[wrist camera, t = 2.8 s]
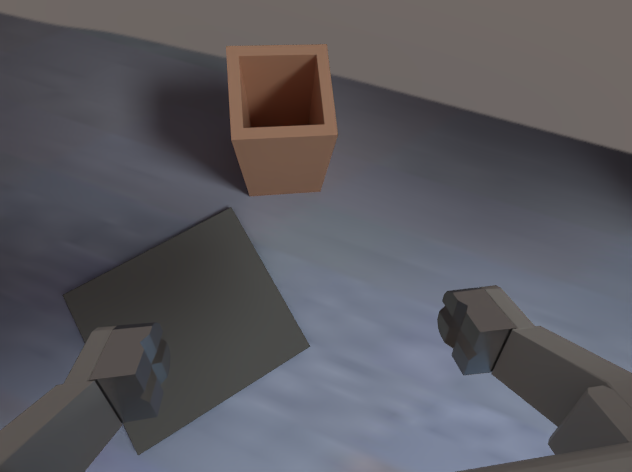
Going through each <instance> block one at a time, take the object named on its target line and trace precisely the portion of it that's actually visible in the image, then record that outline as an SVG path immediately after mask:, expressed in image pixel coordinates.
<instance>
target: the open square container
mask: <svg viewBox="0 0 632 472" xmlns="http://www.w3.org/2000/svg"><path fill="white" fill-rule="evenodd" d="M226 53H227V72H228V90H229V108H230V126H231V141H232V144H233V147H234V150H235V153H236V156H237V159H238V162H239V165H240V168H241V171H242V174H243V177H244V180H245V183H246V187H247V190H248V193H249V196H262V195H277V194H292V193H307V192H320V191H321V188H322V184H323V181H324V178H325V175H326V172H327V168H328V165H329V162H330V159H331V156H332V152H333V149H334V146H335V143H336V139H337V136H338V132H337V123H336V115H335V107H334V99H333V91H332V83H331V75H330V67H329V60H328V59H329V58H328V50H327V44H322V45H321V44H318V45H265V46H264V45H262V46H226Z"/></svg>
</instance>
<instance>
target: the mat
mask: <svg viewBox="0 0 632 472" xmlns="http://www.w3.org/2000/svg"><path fill="white" fill-rule="evenodd" d="M63 297H64V299H65V301H66V303H67V306H68V308H69V310H70V312H71V314H72V316H73V318H74V320H75V323H76V325H77V327H78V329H79V331H80V333H81V335H82V337H83V339H84V342H85V343H86V341H87V340H88V338H89V336H90V334H91V332H92V331H93V330H95V329H96V328H97V327H109V326H117V325H129V324H141V323H153V322H157V323H159V324H160V326H161V328H162V330H163V333H162V336H161V339H163V340H164V341H166V342H167V343H168V346H169V349H170V355H171V358H170V369H169V374H168V377H167V378H166V379H165V380H164V381H163V382H162V383H161V387H162V390H163V392H164V393H163V397H162V401H161V405H160V409H159V412H158V416H157V417H155V418H149V419H143V420H137V421H131V422H125V423H123V424H124V426H125V429H126V431H127V433H128V435H129V437H130V439H131V441H132V443H133V446H134V448H135V450H136V452H137V454H138V455H140V454H141V453H143V452H144V451H146V450H148V449H149V448H151V447H152V446H154V445H155V444H157V443H159V442H160V441H162V440H163V439H165V438H167V437H168V436H170V435H171V434H173V433H174V432H176V431H178V430H179V429H181V428H182V427H184V426H185V425H187V424H189V423H190V422H192V421H193V420H195V419H196V418H198V417H200V416H201V415H203V414H204V413H206V412H208V411H209V410H211V409H212V408H214V407H215V406H217V405H219V404H220V403H222V402H223V401H225V400H226V399H228V398H230V397H231V396H233V395H234V394H236V393H237V392H239V391H241V390H242V389H244V388H245V387H247V386H248V385H250V384H252V383H253V382H255V381H256V380H258V379H260V378H261V377H263V376H264V375H266V374H267V373H269V372H271V371H272V370H274V369H275V368H277V367H278V366H280V365H282V364H283V363H285V362H286V361H288V360H289V359H291V358H293V357H294V356H296V355H297V354H299V353H300V352H302V351H304V350H305V349H307V348H308V347H310V345H309V343H308V342H307V340H306V338H305V336H304V335H303V333H302V331H301V329H300V328H299V326H298V324H297V322H296V321H295V319H294V317H293V315H292V314H291V312H290V310H289V308H288V306H287V305H286V303H285V301H284V299H283V298H282V296H281V294H280V292H279V291H278V289H277V287H276V285H275V284H274V282H273V280H272V278H271V277H270V275H269V273H268V271H267V269H266V268H265V266H264V264H263V262H262V261H261V259H260V257H259V255H258V254H257V252H256V250H255V248H254V247H253V245H252V243H251V241H250V240H249V238H248V236H247V234H246V232H245V231H244V229H243V227H242V225H241V224H240V222H239V220H238V218H237V217H236V215H235V213H234V211H233V210H232V208H229V209H227V210H225V211H223V212H221V213H219V214H217V215H215V216H213V217H212V218H210V219H208V220H206V221H204V222H202V223H200V224H198V225H196V226H194V227H192V228H190V229H189V230H187V231H185V232H183V233H181V234H179V235H177V236H175V237H173V238H171V239H169V240H167V241H165V242H164V243H162V244H160V245H158V246H156V247H154V248H152V249H150V250H148V251H146V252H144V253H142V254H141V255H139V256H137V257H135V258H133V259H131V260H129V261H127V262H125V263H123V264H121V265H119V266H118V267H116V268H114V269H112V270H110V271H108V272H106V273H104V274H102V275H100V276H98V277H96V278H94V279H93V280H91V281H89V282H87V283H85V284H83V285H81V286H79V287H77V288H75V289H73V290H71V291H70V292H68V293H66V294H64V295H63Z"/></svg>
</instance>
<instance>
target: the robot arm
mask: <svg viewBox="0 0 632 472" xmlns="http://www.w3.org/2000/svg"><path fill="white" fill-rule="evenodd" d="M442 301H443V303H444V304H445V307H444V308H442V309H441V310H440V311H439V315H438V319H437V320H438V329H439V332H440V335H441V337H442V339H443V341H444V342H445V343H446V344H447V345H449V346H450V347H452V348H453V352H452V357H453V358H454V360H455V362H456V364H457V365H458V367H459V369H460V371H461V372H462V374H463V375H471V374H481V373H490V372H492V375H493V376H495V377H496V378H497V379H498V380H500V381H501V382H502V383H504V384H505V385H506V386H507V387H509V388H510V389H511V390H512V391H514V392H515V393H516V394H517V395H519V396H520V397H521V398H522V399H524V400H525V401H526V402H527V403H529V404H530V405H531V406H532V407H534V408H535V409H536V410H537V411H539V412H540V413H541V414H542V415H544V416H545V417H546V418H548V419H549V420H550V421H551V422H553V423H554V424H555V425H556V426H558V428H557V429H556V430H555V432H554V433H553V434H552V436H551V437H550V438H549V442H548V445H549V446H550V448H551V449H552V451H553V452H554V454H555V455H551V456H545V457H539V458H533V459H527V460H521V461H516V462H510V463H504V464H498V465H492V466H486V467H480V468H474V469H468V470H463V471H457V472H632V373H631V372H629V371H627V370H625V369H623V368H621V367H619V366H617V365H615V364H613V363H611V362H609V361H607V360H605V359H603V358H601V357H599V356H598V355H596V354H594V353H592V352H590V351H588V350H586V349H584V348H582V347H580V346H578V345H576V344H574V343H572V342H570V341H568V340H566V339H565V338H563V337H561V336H559V335H557V334H555V333H553V332H551V331H549V330H547V329H545V328H543V327H541V326H534V325H533V323H532V322H531V321H530V320H529V319H528V318H527V317H526V316H525V314H524V313H523V312H522V311H521V310H520V309H519V308H518V307H517V306H516V304H515V303H514V302H513V301H512V300H511V299H510V298H509V297H508V295H507V294H506V293H505V292H504V291H503V290H502V289H501V288H500V287H498V286H496V285H495V286H486V287H479V288H469V289H460V290H452V291H447V292H446V293H445V294H444V297H443V300H442ZM162 333H163V330H162V328H161V326H160V324H159V323H157V322H153V323H141V324H129V325H117V326H109V327H97V328H96V329H95V330H93V331H92V332H91V334H90V336H89V338H88V340H87V341H86V343H85V345H84V347H83V349H82V351H81V353H80V354H79V356H78V358H77V360H76V362H75V364H74V365H73V367H72V369H71V371H70V373H69V375H68V377H67V378H66V380H65V382H64V384H61V385H56V386H55V387H54V388H53V389H51V390H50V391H49V392H48V393H46V394H45V395H44V396H43V397H41V398H40V399H39V400H38V401H36V402H35V403H34V404H33V405H32V406H30V407H29V408H28V409H27V410H25V411H24V412H23V413H22V414H20V415H19V416H18V417H17V418H15V419H14V420H13V421H12V422H10V423H9V424H8V425H7V426H5V427H4V428H3V429H2V430H1V431H0V472H85V470H86V469H87V468H88V467H89V465H90V464H91V463H92V462H93V461H94V459H95V458H96V457H97V456H98V454H99V453H100V452H101V451H102V449H103V448H104V447H105V446H106V444H107V443H108V442H109V441H110V440H111V438H112V437H113V436H114V435H115V433H116V432H117V431H118V430H119V428H120V427H121V426H122V423H125V422H131V421H137V420H143V419H149V418H155V417H157V416H158V412H159V409H160V405H161V401H162V397H163V393H164V392H163V390H162V387H161V383H162V382H163V381H164V380H165V379H166V378H167V377H168V374H169V369H170V358H171V355H170V349H169V346H168V343H167V342H166V341H164V340H163V339H161V336H162Z"/></svg>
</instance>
